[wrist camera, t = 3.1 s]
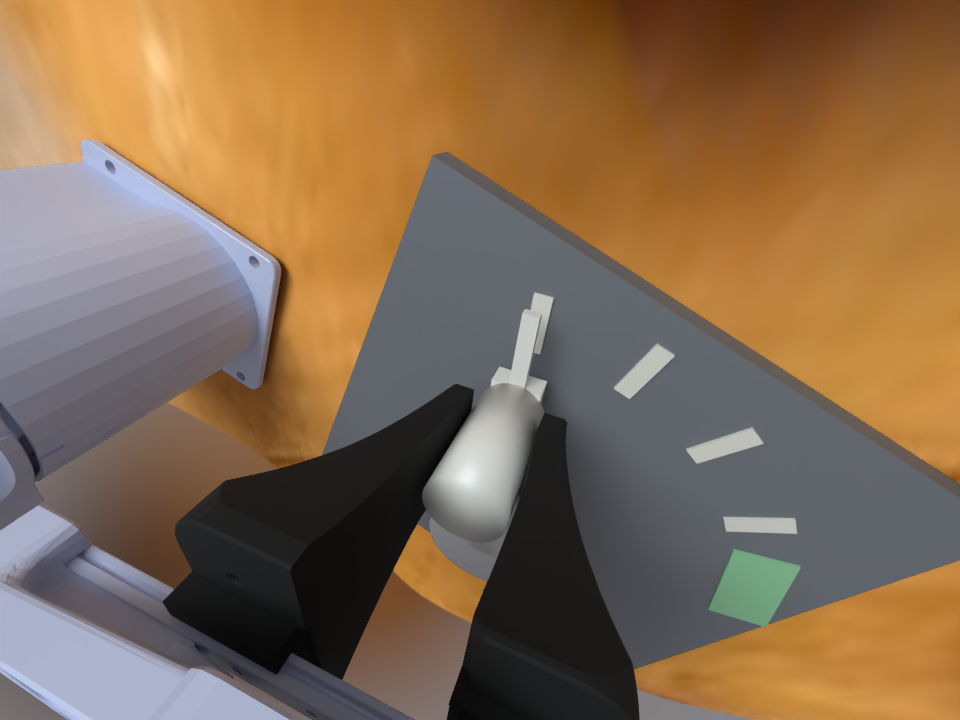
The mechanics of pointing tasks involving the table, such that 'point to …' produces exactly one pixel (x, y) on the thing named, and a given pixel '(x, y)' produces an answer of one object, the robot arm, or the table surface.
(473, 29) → the table surface
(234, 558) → the robot arm
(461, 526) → the tuning lever
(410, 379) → the gauge board
